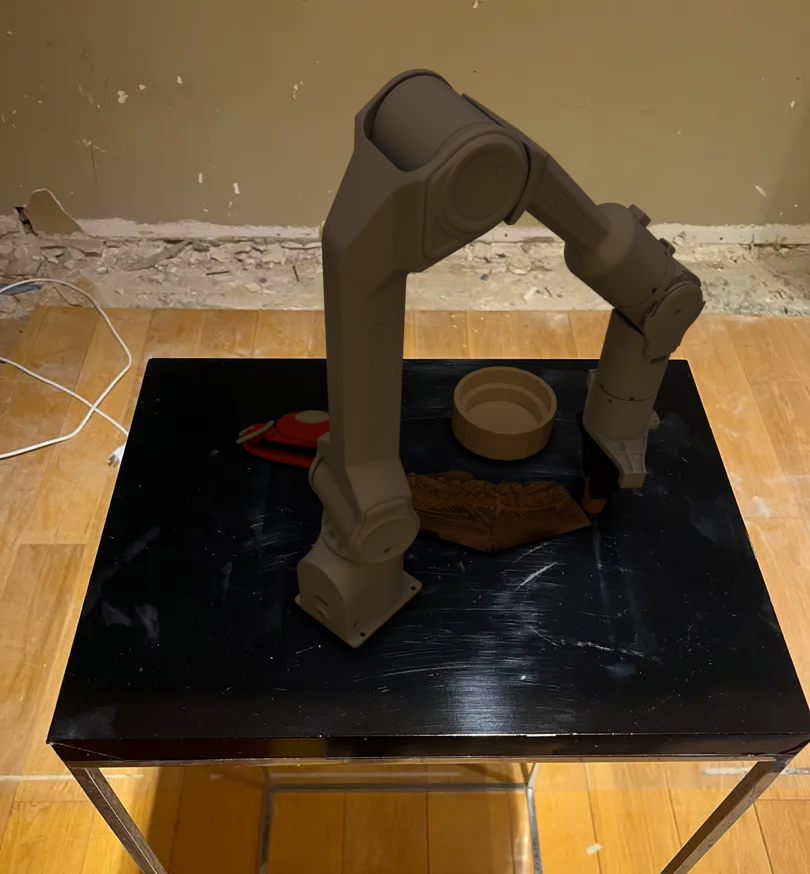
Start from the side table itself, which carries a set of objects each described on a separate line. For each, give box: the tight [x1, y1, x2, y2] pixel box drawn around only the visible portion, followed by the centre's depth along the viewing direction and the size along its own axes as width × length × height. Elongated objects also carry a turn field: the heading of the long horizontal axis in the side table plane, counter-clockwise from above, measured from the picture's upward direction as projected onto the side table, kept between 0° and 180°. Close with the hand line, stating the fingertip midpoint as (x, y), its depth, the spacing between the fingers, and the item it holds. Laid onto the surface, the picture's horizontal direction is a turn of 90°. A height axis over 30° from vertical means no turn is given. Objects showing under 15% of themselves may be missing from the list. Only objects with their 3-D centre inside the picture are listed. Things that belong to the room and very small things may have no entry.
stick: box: [580, 472, 607, 514], centre depth 83 cm, size 2×2×9 cm
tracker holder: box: [235, 409, 329, 470], centre depth 89 cm, size 12×4×10 cm
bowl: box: [450, 365, 558, 461], centre depth 92 cm, size 11×11×4 cm
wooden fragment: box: [406, 469, 594, 555], centre depth 84 cm, size 26×11×1 cm, turn 84°
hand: (596, 486), depth 84 cm, fingers closed on stick, 2 cm apart
